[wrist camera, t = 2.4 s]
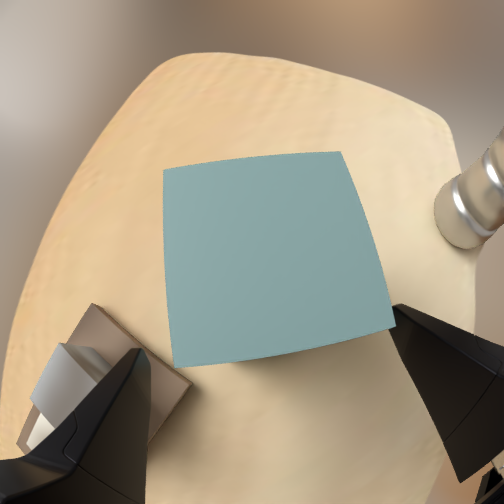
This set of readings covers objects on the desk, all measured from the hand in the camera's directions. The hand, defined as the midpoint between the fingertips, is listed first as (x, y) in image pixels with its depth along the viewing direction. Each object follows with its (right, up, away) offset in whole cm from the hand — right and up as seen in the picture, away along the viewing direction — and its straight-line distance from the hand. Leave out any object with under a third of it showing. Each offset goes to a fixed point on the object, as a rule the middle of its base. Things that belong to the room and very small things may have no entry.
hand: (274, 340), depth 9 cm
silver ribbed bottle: (+19, +5, +13) cm, 23 cm away
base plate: (-13, -10, +6) cm, 18 cm away
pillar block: (-1, -1, +9) cm, 10 cm away
